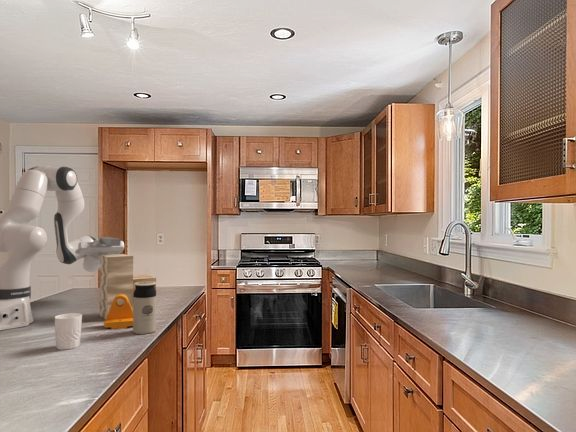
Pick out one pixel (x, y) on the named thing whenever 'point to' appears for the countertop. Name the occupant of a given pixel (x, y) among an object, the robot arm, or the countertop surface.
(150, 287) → the travel mug
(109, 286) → the step stand
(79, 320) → the white cup
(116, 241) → the block
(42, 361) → the countertop surface
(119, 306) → the bracket
